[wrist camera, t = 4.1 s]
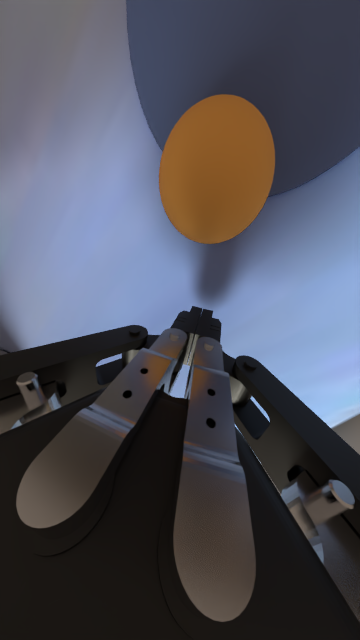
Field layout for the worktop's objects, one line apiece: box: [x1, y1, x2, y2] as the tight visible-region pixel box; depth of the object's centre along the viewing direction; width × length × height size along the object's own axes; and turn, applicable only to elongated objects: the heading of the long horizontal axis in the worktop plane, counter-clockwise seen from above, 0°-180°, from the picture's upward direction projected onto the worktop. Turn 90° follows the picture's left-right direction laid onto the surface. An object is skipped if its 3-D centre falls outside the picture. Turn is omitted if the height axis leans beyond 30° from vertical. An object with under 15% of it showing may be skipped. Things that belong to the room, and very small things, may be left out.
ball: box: [159, 94, 275, 244], centre depth 8 cm, size 5×5×5 cm
